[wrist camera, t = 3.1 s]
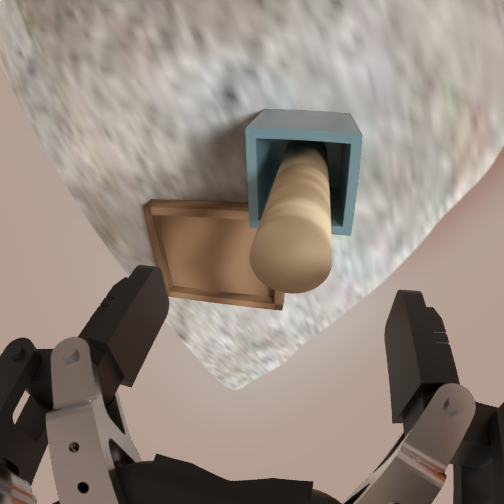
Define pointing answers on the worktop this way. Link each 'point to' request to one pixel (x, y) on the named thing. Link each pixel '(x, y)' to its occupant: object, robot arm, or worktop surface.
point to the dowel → (296, 222)
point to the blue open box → (312, 129)
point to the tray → (207, 252)
